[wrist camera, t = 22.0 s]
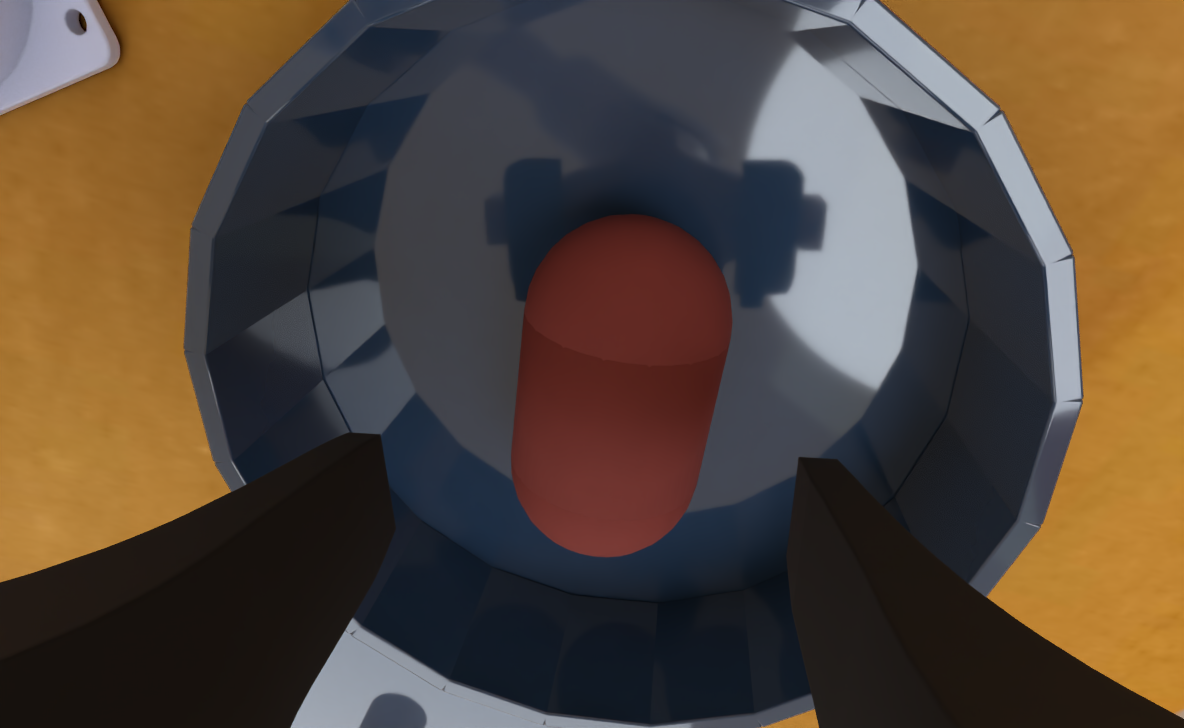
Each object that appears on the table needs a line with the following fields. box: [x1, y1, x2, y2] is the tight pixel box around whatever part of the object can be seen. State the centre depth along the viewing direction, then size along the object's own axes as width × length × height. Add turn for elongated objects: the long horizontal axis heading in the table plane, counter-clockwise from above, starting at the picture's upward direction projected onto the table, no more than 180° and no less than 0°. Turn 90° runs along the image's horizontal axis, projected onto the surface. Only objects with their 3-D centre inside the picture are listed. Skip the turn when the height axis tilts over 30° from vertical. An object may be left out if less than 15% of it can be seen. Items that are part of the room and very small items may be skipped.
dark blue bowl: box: [184, 0, 1083, 728], centre depth 16 cm, size 17×17×5 cm
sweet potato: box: [511, 214, 733, 557], centre depth 16 cm, size 4×8×4 cm, turn 173°
